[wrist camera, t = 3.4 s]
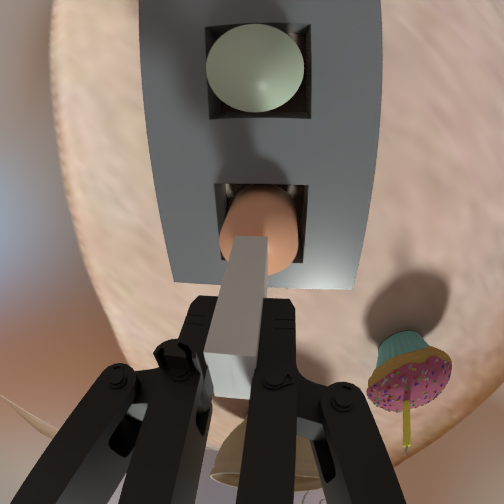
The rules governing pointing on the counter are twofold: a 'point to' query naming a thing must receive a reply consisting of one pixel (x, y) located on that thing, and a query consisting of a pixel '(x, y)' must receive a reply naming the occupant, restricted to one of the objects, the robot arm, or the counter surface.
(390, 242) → the counter surface
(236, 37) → the sage button
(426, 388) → the cupcake
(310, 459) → the planter bowl
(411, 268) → the counter surface
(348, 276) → the button panel
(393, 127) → the counter surface
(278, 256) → the terracotta button
